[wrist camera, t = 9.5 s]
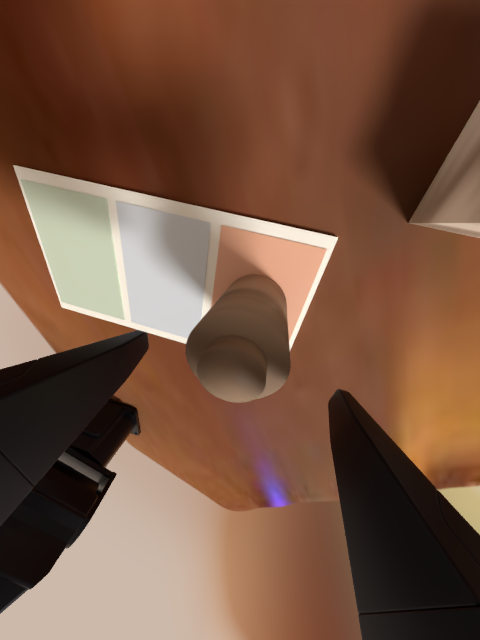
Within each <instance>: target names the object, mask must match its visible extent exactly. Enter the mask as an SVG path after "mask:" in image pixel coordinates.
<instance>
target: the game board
mask: <svg viewBox="0 0 480 640" xmlns="http://www.w3.org/2000/svg"><path fill="white" fill-rule="evenodd" d="M13 166H14V169H15V172H16V175H17V178H18V181H19V184H20V187H21V190H22V193H23V196H24V199H25V201H26V204H27V207H28V210H29V213H30V216H31V219H32V222H33V225H34V228H35V231H36V234H37V237H38V239H39V242H40V245H41V248H42V251H43V254H44V257H45V260H46V263H47V266H48V269H49V272H50V275H51V277H52V280H53V283H54V286H55V289H56V292H57V295H58V298H59V301H60V304H61V307H62V308H66V309H69V310H73V311H76V312H79V313H83V314H86V315H90V316H93V317H96V318H100V319H103V320H107V321H110V322H114V323H117V324H120V325H124V326H127V327H131V328H134V329H137V330H141V331H144V332H148V333H151V334H155V335H158V336H161V337H165V338H168V339H172V340H175V341H178V342H182V343H185V344H186V342H187V339H188V336H189V335H190V333H191V331H192V330H193V329H194V327H195V326H196V325H197V324H198V323H199V322H200V320H201V319H202V318H203V317H204V316H205V315H206V313H207V312H208V311H209V310H210V309H211V308H212V306H213V305H214V304H215V303H216V302H217V301H218V299H219V298H220V297H221V296H222V295H223V294H224V292H225V291H226V290H227V289H228V288H229V287H230V285H231V284H232V283H233V282H234V281H236V280H237V279H239V278H240V277H243V276H246V275H252V274H257V275H263V276H266V277H268V278H270V279H272V280H273V281H275V282H276V283H277V284H278V285H279V286H280V287H281V289H282V290H283V292H284V294H285V297H286V303H287V318H288V333H289V348H290V349H291V347H292V345H293V342H294V340H295V338H296V335H297V333H298V331H299V328H300V326H301V324H302V321H303V319H304V317H305V314H306V312H307V310H308V307H309V305H310V303H311V300H312V298H313V296H314V293H315V291H316V289H317V286H318V284H319V282H320V279H321V277H322V275H323V272H324V270H325V267H326V265H327V263H328V260H329V258H330V256H331V253H332V251H333V249H334V246H335V244H336V242H337V239H338V237H334V236H330V235H325V234H321V233H316V232H312V231H307V230H303V229H298V228H294V227H289V226H285V225H280V224H276V223H271V222H267V221H262V220H258V219H253V218H249V217H245V216H240V215H236V214H231V213H227V212H222V211H218V210H213V209H209V208H204V207H200V206H195V205H191V204H186V203H182V202H177V201H173V200H168V199H164V198H159V197H155V196H150V195H146V194H141V193H137V192H133V191H128V190H124V189H119V188H115V187H110V186H106V185H101V184H97V183H92V182H88V181H83V180H79V179H74V178H70V177H65V176H61V175H56V174H52V173H47V172H43V171H38V170H34V169H29V168H25V167H21V166H16V165H13Z"/></svg>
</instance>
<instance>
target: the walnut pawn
mask: <svg viewBox="0 0 480 640" xmlns="http://www.w3.org/2000/svg"><path fill="white" fill-rule="evenodd" d="M186 357H187V360H188V363H189V366H190V368H191V370H192V371H193V373H194V374H195V375H196V377H197V378H198V379H199V380H200V382H201V384H202V385H203V386H204V388H205V389H206V390H207V391H209V392H210V393H211V394H213V395H214V396H216V397H218V398H220V399H223V400H226V401H230V402H248V401H251V400H253V399H258V398H263V397H266V396H268V395H270V394H272V393H274V392H276V391H277V390H278V389H279V388H280V387H282V385H283V384H284V383H285V381H286V380H287V378H288V375H289V372H290V348H289V333H288V318H287V303H286V297H285V294H284V292H283V290H282V289H281V287H280V286H279V285H278V284H277V283H276V282H275V281H273V280H272V279H270V278H268V277H266V276H263V275H257V274H252V275H246V276H243V277H240V278H239V279H237V280H236V281H234V282H233V283H232V284H231V285H230V287H229V288H228V289H227V290H226V291H225V292H224V294H223V295H222V296H221V297H220V298H219V299H218V301H217V302H216V303H215V304H214V305H213V306H212V308H211V309H210V310H209V311H208V312H207V313H206V315H205V316H204V317H203V318H202V319H201V320H200V322H199V323H198V324H197V325H196V326H195V327H194V329H193V330H192V331H191V333H190V335H189V336H188V339H187V342H186Z"/></svg>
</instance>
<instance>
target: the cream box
mask: <svg viewBox="0 0 480 640" xmlns="http://www.w3.org/2000/svg"><path fill="white" fill-rule="evenodd" d="M408 223H410V224H415V225H420V226H424V227H429V228H434V229H439V230H444V231H448V232H453V233H458V234H463V235H467V236H472V237H477V238H480V101H479V103H478V104H477V106H476V108H475V110H474V111H473V113H472V115H471V116H470V118H469V120H468V121H467V123H466V125H465V127H464V128H463V130H462V132H461V133H460V135H459V137H458V139H457V140H456V142H455V144H454V145H453V147H452V149H451V151H450V152H449V154H448V156H447V157H446V159H445V161H444V163H443V164H442V166H441V168H440V169H439V171H438V173H437V175H436V176H435V178H434V180H433V181H432V183H431V185H430V187H429V188H428V190H427V192H426V193H425V195H424V197H423V198H422V200H421V202H420V204H419V205H418V207H417V209H416V210H415V212H414V214H413V216H412V217H411V219H410V221H409V222H408Z"/></svg>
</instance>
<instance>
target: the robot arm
mask: <svg viewBox="0 0 480 640" xmlns="http://www.w3.org/2000/svg"><path fill="white" fill-rule="evenodd" d="M148 347H149V342H148V334H147V333H146V332H144V331H140V330H137V331H134V332H130V333H127V334H123V335H120V336H116V337H113V338H109V339H106V340H102V341H99V342H95V343H92V344H88V345H85V346H81V347H78V348H74V349H71V350H67V351H64V352H60V353H57V354H53V355H50V356H46V357H43V358H39V359H38V360H32V361H29V362H25V363H22V364H19V365H15V366H12V367H7V368H4V369H0V613H2V612H3V611H4V610H5V609H6V608H7V607H8V606H10V605H11V604H12V603H13V602H14V601H15V600H16V599H18V598H19V597H20V596H21V595H22V594H23V593H25V592H26V591H27V590H28V589H31V588H33V587H34V586H35V585H36V584H37V583H38V582H39V581H41V580H42V579H43V577H45V576H46V575H47V574H48V573H49V572H50V570H51V569H52V567H53V566H54V564H55V562H56V561H57V559H58V558H59V556H60V555H61V553H62V552H63V551H64V549H65V548H69V547H70V546H71V545H72V544H73V543H74V542H75V540H76V539H77V538H78V537H79V535H80V534H81V533H82V531H83V530H84V529H85V527H86V525H87V524H88V523H89V521H90V519H91V518H92V516H93V514H94V513H95V511H96V509H97V508H98V506H99V504H100V502H101V501H102V499H103V497H104V495H105V494H106V492H107V490H108V488H109V487H110V485H111V483H112V481H113V480H114V478H115V476H116V473H115V472H111V471H109V470H108V469H106V468H105V467H106V466H107V464H108V463H109V462H110V460H111V459H112V457H113V456H114V455H115V453H116V452H117V451H118V449H119V448H120V447H121V445H122V444H123V442H124V441H125V440H126V438H127V437H128V436H129V434H130V433H132V434H134V435H139V434H140V433H141V431H140V425H139V419H138V412H137V410H136V409H134V408H131V407H128V406H125V405H122V404H119V403H116V402H113V401H110V400H109V399H110V398H111V397H112V396H113V395H114V393H115V392H116V391H117V390H118V389H119V388H120V386H121V385H122V384H123V383H124V382H125V381H126V379H127V378H128V377H129V376H130V374H131V373H132V372H133V370H134V369H135V367H136V366H137V365H138V363H139V362H140V360H141V359H142V357H143V356H144V355H145V353H146V352H147V350H148ZM328 410H329V428H330V442H331V449H332V455H333V461H334V467H335V474H336V480H337V486H338V492H339V498H340V504H341V511H342V517H343V522H344V529H345V535H346V541H347V547H348V554H349V560H350V566H351V572H352V578H353V585H354V590H355V596H356V603H357V608H358V613H359V615H358V616H359V623H360V629H361V635H362V640H480V535H479V534H478V533H477V532H476V531H475V530H474V529H473V527H472V526H470V524H469V523H468V522H467V521H466V520H465V519H464V518H463V517H462V516H461V515H460V514H459V512H458V511H457V510H456V509H455V508H454V507H453V506H452V505H451V504H450V503H449V502H448V500H447V499H446V498H445V497H444V496H443V495H442V494H441V493H440V492H439V491H438V490H436V487H435V486H434V485H433V484H432V483H431V482H430V481H429V480H428V479H427V477H426V476H425V475H424V474H423V473H422V472H421V471H420V470H419V469H418V468H417V466H416V465H415V464H414V463H413V462H412V461H411V460H410V459H409V458H408V457H407V456H406V454H405V453H404V452H403V451H402V450H401V449H400V448H399V447H398V446H397V445H396V443H395V442H394V441H393V440H392V439H391V438H390V437H389V436H388V435H387V434H386V432H385V431H384V430H383V429H382V428H381V427H380V426H379V425H378V424H377V423H376V421H375V420H374V419H373V418H372V417H371V416H370V415H369V414H368V413H367V412H366V411H365V409H364V408H363V407H362V406H361V405H360V404H359V403H358V402H357V401H356V400H355V398H354V397H353V396H352V395H351V394H350V393H349V392H347V391H344V390H341V389H338V390H336V392H335V393H334V394H333V396H332V397H331V399H330V400H329V403H328Z"/></svg>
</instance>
